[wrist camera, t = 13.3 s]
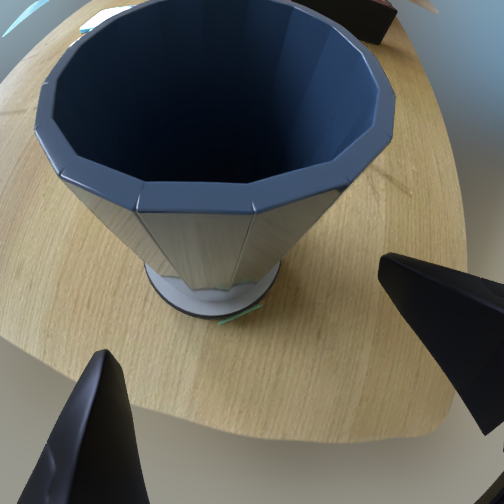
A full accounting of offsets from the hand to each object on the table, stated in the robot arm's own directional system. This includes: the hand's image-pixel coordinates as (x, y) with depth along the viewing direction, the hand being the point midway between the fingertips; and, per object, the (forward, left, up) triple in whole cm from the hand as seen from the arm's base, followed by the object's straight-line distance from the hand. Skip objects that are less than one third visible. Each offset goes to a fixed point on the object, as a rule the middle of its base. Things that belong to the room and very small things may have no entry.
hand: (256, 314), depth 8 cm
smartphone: (+47, 0, -12) cm, 48 cm away
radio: (+33, -29, -12) cm, 45 cm away
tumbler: (+5, 0, -8) cm, 9 cm away
